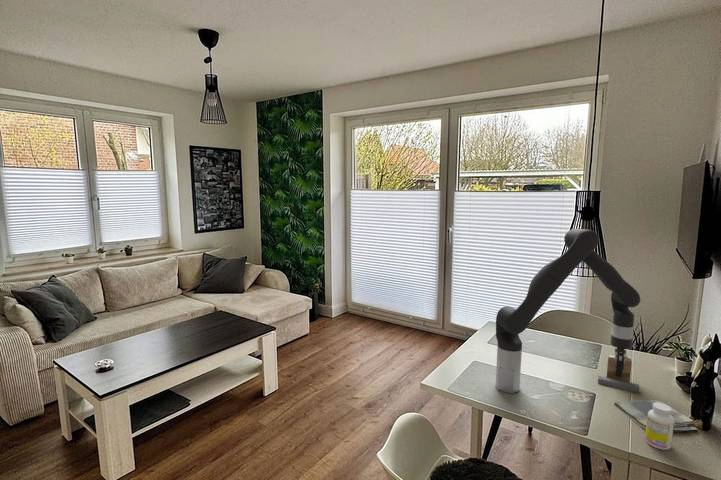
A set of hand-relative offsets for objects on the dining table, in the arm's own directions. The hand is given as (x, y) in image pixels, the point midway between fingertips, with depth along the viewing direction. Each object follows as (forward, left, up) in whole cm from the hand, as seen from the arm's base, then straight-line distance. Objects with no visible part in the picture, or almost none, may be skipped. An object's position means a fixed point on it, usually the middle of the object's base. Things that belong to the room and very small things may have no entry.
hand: (618, 373), depth 161 cm
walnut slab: (0, 0, -3) cm, 3 cm away
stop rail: (-5, 0, -3) cm, 6 cm away
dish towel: (-24, -11, -4) cm, 27 cm away
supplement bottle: (-41, -10, -4) cm, 43 cm away
